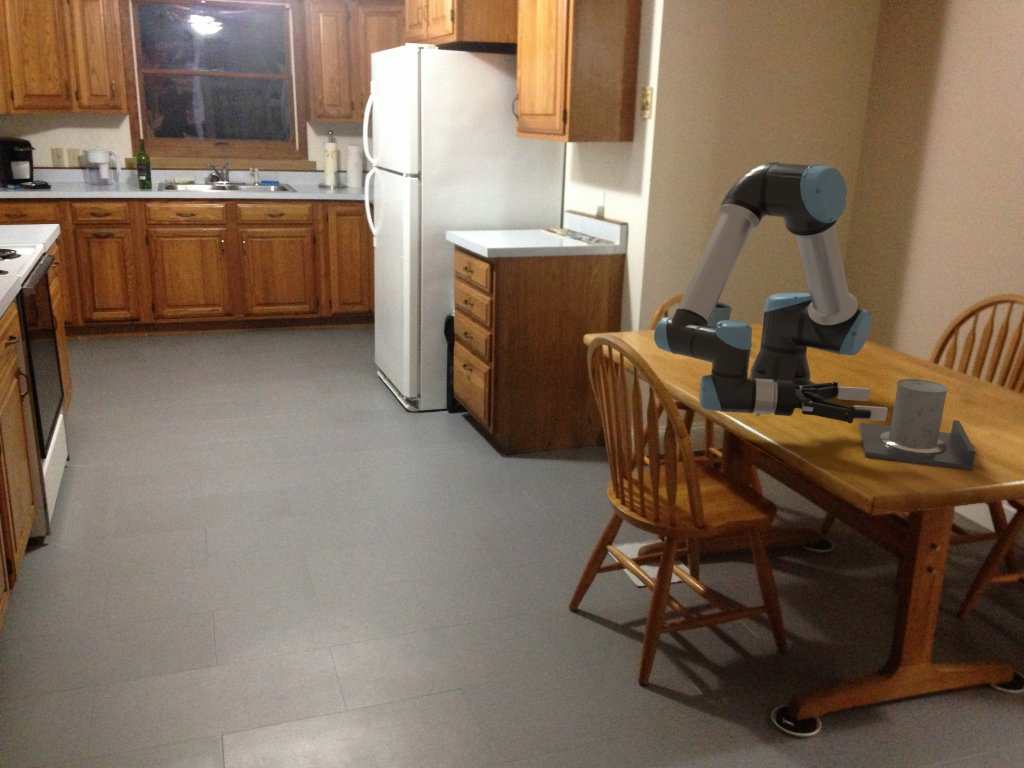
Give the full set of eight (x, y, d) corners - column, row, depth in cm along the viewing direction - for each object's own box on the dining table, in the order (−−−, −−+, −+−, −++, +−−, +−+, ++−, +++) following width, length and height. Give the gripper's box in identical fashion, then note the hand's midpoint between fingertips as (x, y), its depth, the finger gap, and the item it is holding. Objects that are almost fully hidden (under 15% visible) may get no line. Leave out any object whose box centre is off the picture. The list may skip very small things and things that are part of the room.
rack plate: (859, 426, 200) (861, 409, 199) (956, 438, 195) (959, 420, 193) (864, 456, 182) (867, 438, 181) (972, 470, 176) (975, 451, 175)
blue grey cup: (688, 339, 276) (691, 301, 272) (717, 338, 279) (721, 300, 275) (704, 347, 266) (708, 308, 263) (734, 346, 269) (738, 307, 266)
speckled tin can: (943, 441, 188) (953, 386, 185) (928, 452, 181) (939, 395, 178) (897, 430, 194) (906, 376, 191) (881, 440, 187) (890, 385, 184)
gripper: (763, 396, 202) (860, 403, 200) (781, 433, 178) (891, 441, 176) (767, 365, 200) (864, 371, 197) (785, 397, 176) (897, 405, 174)
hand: (877, 404), depth 187 cm, fingers open, 13 cm apart
